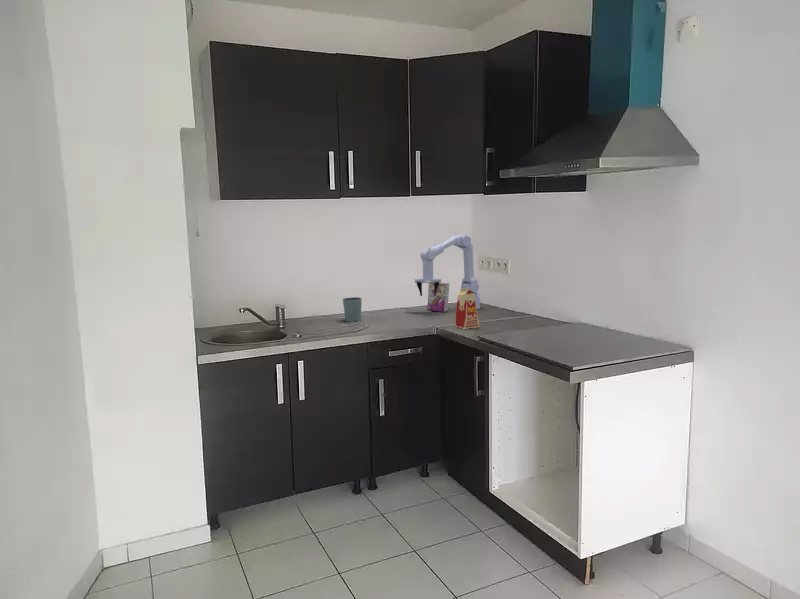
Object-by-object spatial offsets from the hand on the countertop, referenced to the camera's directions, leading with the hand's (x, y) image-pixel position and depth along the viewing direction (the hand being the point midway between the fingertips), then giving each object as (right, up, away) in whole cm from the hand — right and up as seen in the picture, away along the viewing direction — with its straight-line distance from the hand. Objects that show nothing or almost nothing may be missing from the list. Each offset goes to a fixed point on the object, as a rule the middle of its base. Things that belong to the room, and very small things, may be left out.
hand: (428, 295), depth 327 cm
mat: (-5, -9, +12) cm, 16 cm away
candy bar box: (+6, -9, +11) cm, 15 cm away
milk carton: (+17, -16, -38) cm, 44 cm away
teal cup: (-41, -14, -12) cm, 45 cm away
